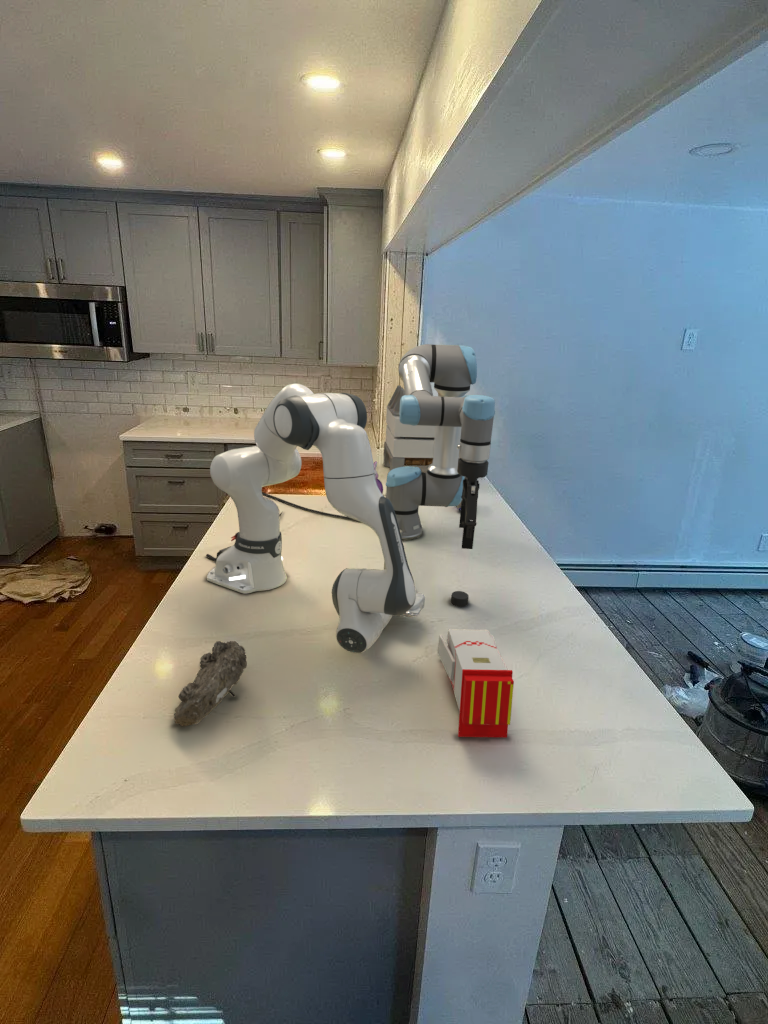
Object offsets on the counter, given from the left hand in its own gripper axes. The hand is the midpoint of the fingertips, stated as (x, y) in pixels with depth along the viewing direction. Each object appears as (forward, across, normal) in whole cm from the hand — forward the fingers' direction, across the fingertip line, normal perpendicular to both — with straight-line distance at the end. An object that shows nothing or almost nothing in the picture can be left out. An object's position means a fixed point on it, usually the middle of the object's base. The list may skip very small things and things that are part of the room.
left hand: (393, 584), depth 149 cm
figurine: (+84, +36, +6) cm, 92 cm away
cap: (+9, -16, +4) cm, 19 cm away
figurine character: (+86, -1, +6) cm, 87 cm away
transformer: (+129, +29, +6) cm, 132 cm away
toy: (-28, -26, +6) cm, 39 cm away
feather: (+48, +60, +6) cm, 77 cm away
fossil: (-49, +21, +6) cm, 54 cm away
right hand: (+9, -16, -13) cm, 23 cm away
